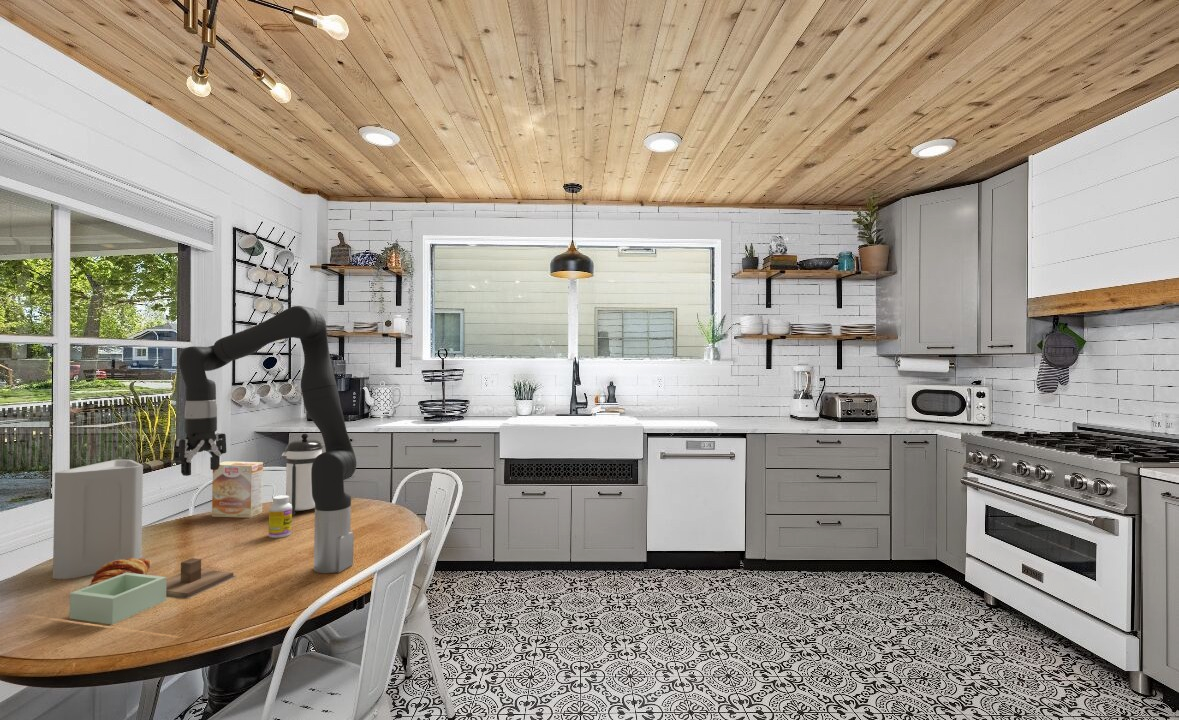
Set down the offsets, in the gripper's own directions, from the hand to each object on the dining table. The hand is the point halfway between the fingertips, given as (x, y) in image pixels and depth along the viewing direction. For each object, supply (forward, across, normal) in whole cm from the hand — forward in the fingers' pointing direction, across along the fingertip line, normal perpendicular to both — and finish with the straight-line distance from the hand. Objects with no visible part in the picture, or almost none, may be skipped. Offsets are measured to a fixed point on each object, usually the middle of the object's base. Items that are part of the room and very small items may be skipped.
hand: (201, 472), depth 152 cm
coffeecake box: (+26, +41, +31) cm, 58 cm away
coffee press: (+26, +54, +11) cm, 61 cm away
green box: (+26, -28, -9) cm, 39 cm away
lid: (+26, -13, -11) cm, 31 cm away
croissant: (+26, -16, +7) cm, 32 cm away
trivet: (+26, -13, -11) cm, 31 cm away
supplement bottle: (+26, +26, -2) cm, 37 cm away
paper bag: (+26, -7, +23) cm, 35 cm away
